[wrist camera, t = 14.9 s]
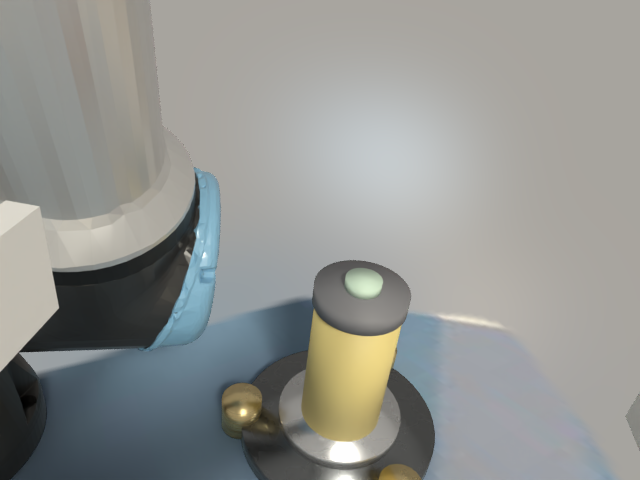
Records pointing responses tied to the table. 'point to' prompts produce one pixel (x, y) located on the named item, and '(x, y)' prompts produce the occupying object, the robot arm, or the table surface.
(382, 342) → the yellow battery cell
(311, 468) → the tribrach
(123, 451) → the table surface
